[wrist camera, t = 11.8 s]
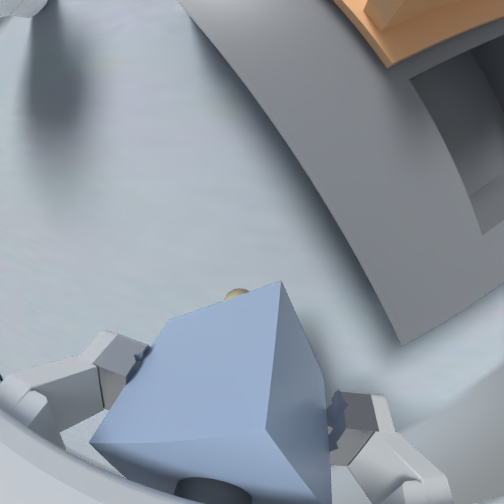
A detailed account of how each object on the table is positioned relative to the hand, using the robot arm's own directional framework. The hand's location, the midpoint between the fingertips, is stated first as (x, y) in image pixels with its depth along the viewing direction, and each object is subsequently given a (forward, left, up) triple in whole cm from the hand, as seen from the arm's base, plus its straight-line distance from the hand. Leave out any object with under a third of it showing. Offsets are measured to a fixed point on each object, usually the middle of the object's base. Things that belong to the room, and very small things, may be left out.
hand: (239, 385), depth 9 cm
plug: (0, 0, -3) cm, 3 cm away
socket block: (+12, +5, -6) cm, 14 cm away
